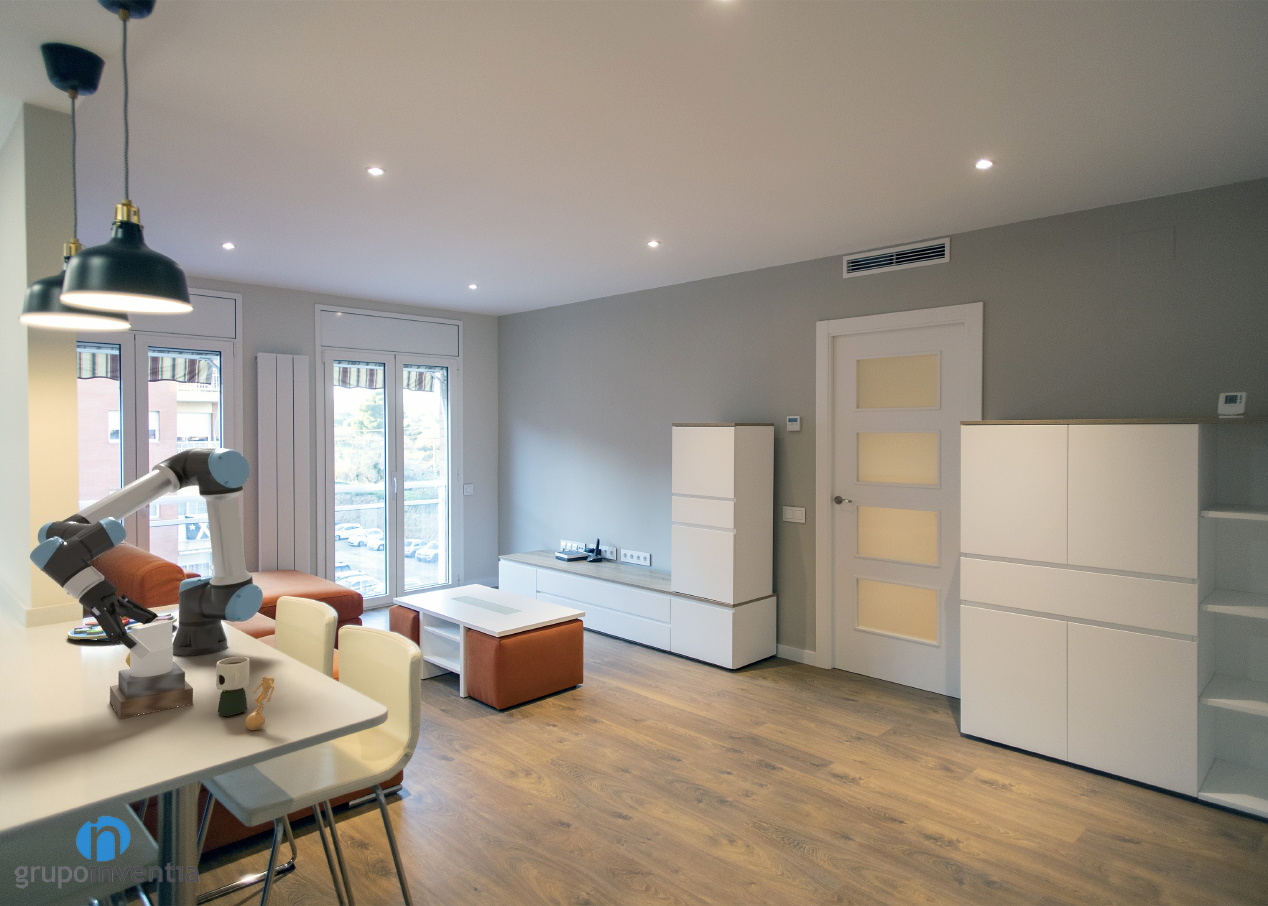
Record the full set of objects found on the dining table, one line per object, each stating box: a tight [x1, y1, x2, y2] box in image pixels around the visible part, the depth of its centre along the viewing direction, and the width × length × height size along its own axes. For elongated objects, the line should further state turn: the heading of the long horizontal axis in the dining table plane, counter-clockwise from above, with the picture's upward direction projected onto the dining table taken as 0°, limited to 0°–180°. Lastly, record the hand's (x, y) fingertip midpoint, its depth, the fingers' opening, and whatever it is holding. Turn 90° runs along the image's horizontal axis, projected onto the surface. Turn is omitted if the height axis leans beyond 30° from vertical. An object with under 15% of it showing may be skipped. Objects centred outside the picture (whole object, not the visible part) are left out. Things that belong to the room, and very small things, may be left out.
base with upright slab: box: [129, 620, 174, 677], centre depth 180 cm, size 9×9×12 cm
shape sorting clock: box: [67, 612, 178, 641], centre depth 245 cm, size 31×30×6 cm
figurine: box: [244, 675, 275, 731], centre depth 165 cm, size 8×6×12 cm
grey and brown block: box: [109, 660, 194, 720], centre depth 180 cm, size 15×15×8 cm
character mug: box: [215, 656, 251, 717], centre depth 174 cm, size 11×7×13 cm, turn 39°
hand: (158, 647), depth 180 cm, fingers open, 13 cm apart
